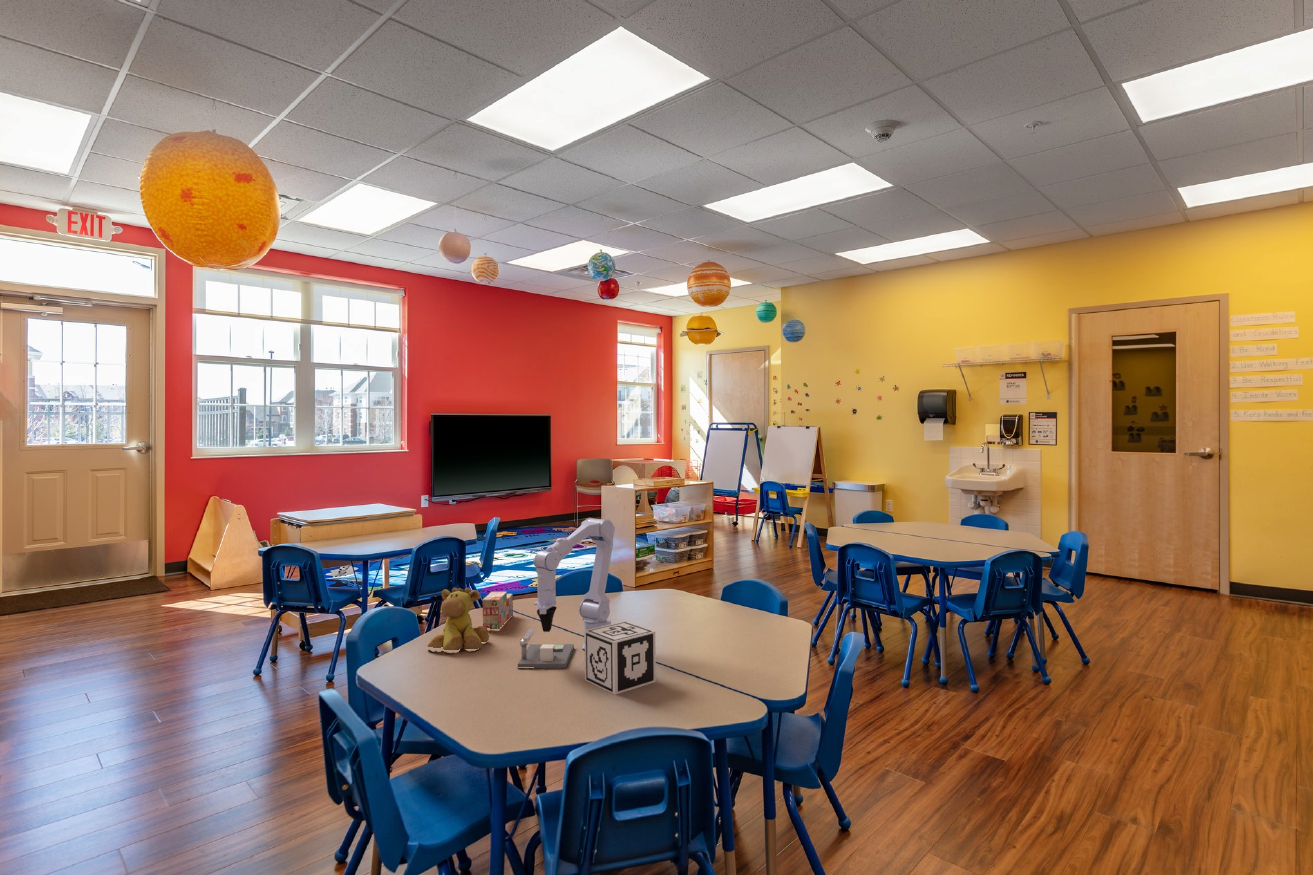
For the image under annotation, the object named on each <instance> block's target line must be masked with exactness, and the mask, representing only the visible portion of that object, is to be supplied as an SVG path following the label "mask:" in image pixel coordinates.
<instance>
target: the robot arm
mask: <svg viewBox="0 0 1313 875" xmlns="http://www.w3.org/2000/svg"><path fill="white" fill-rule="evenodd" d="M615 529H616V527H615V525H614V523H613V522H612V521H611V520H610V519H601V518H593V517H588V518H587V517H586V519H585V520H583V521H582V522H581V524H580V526H579V527H578V528H576V529H575V530H574V531H573V532H572V533H571V534H570V535H569V536H568V537H566V538H565V537H561V538H560V537H559V538H557V539H556V541H555V542H554V543H552V544H551V545H550V546H547V547H546V548H545V550H540V551H538V552H537V553H536V554H535V555H534V559H533V560H532V561H533V563H532V564H533V565H534V567H535V572H536V573H537V601H534V602H533V605H534V606H537V608H538V609H537V610H536V613H537V616H538V618H539V620H540V624H541V628H542V632H544V633H550V632H551V631H552V626H553V620H554V615H555V613H556V611H557V606H556V605H557V601H556V599H557V598H556V596H557V592H556V569H557V568H558V567H559V565H560V563H561V561H562V560H563V559H564V558H566V557H567V556H568V555H569V554H571V553H572V552H573V547H575V546H576V545H578V544H579V543H580V542H582V541H584V540H585V539H587V538H589V539H590V540H591V541H592V542H594V544H595V546H596V551H595V556H594V561H593V562H594V563H593V568H592V574H591V579H590V586H589V590H588V592H586V593H585V594H584V595H583V596H582V601H581V602H580V603H579V607H578V608H579V609H578V612H579V613H578V614H579V615H580V616H581V617H582V621H583V629H584V631H583V636H584V637H583V645H582V647H581V650H585V630H588V629H593V628H597V627H601V626H606V625H610V624H612V621H611V620H607V619H608V618H609V617H610V612H611V611H610V610H611V609H610V599H609V597H608V596H607V595H606V588H607V581H608V575H609V570H610V564H611V558H612V551H613V546H614V536H615Z"/></svg>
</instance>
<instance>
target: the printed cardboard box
mask: <svg viewBox="0 0 1313 875" xmlns="http://www.w3.org/2000/svg"><path fill="white" fill-rule="evenodd" d="M513 597H514V596H513V593H507V591H491V592H489V594H488V595H486V596H485V597H483V598H482V626H483V627H485V628H490V629H500V627H502V625H504V623H505V622H506V621H507V620H508V619H509V618H511V616H513V617H514V601H513ZM511 619H512V618H511Z"/></svg>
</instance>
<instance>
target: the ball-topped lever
mask: <svg viewBox="0 0 1313 875" xmlns="http://www.w3.org/2000/svg"><path fill="white" fill-rule="evenodd" d="M534 634H535V627H530V628H528V629H527V631H526V632H525V634H524V635H523V637H522V638H521V639H520V640H519V645H520V647H521V646H526V645H527V646H528V643H529V642H530V640H531V638H532V637H533V635H534Z"/></svg>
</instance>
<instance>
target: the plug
mask: <svg viewBox="0 0 1313 875" xmlns="http://www.w3.org/2000/svg"><path fill="white" fill-rule="evenodd" d="M555 644H556V643H546V644H545V643H544V644H543V643H542V646H541V647H540V661H554V660H555V652H563V649H555Z"/></svg>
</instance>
